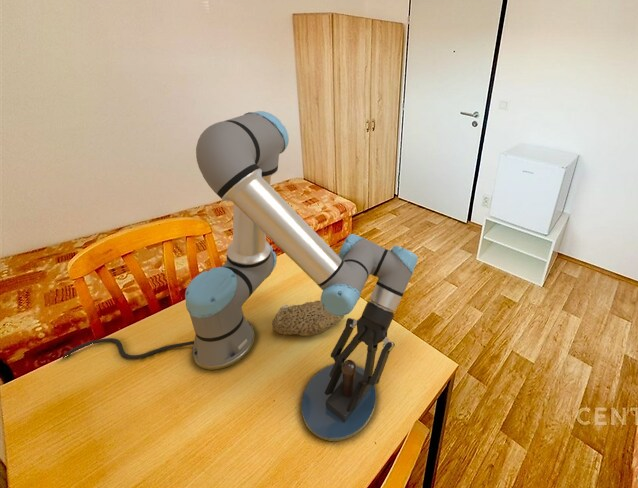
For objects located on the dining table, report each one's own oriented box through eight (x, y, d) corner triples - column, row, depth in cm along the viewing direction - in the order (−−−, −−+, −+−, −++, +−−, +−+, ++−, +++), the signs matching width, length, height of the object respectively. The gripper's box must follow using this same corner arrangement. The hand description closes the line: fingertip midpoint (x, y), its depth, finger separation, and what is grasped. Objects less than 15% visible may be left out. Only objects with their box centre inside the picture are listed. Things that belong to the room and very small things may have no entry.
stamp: (344, 422, 73) (344, 388, 68) (325, 407, 76) (323, 373, 70) (371, 387, 81) (372, 353, 75) (352, 374, 84) (353, 341, 78)
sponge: (272, 343, 93) (338, 341, 90) (266, 320, 91) (333, 317, 88) (291, 314, 105) (349, 312, 103) (286, 294, 104) (345, 290, 101)
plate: (291, 439, 71) (291, 436, 70) (313, 363, 87) (312, 360, 86) (372, 443, 71) (372, 440, 70) (378, 367, 87) (378, 365, 86)
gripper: (418, 324, 79) (378, 422, 73) (358, 292, 87) (318, 377, 82) (409, 323, 72) (364, 431, 67) (345, 288, 81) (301, 381, 75)
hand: (339, 401), depth 74 cm, fingers closed on stamp, 6 cm apart
